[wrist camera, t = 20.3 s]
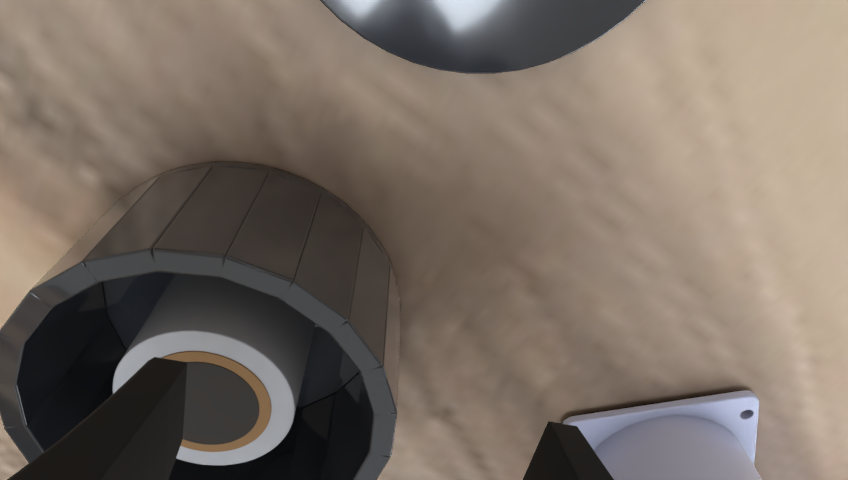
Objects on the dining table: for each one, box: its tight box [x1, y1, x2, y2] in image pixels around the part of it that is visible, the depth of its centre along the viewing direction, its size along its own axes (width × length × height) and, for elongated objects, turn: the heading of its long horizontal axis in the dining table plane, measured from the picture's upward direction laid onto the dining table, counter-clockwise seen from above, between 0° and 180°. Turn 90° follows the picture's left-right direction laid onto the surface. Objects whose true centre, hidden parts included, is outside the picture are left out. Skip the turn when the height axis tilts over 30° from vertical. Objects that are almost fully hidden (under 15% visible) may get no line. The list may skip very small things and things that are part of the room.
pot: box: [0, 162, 401, 480], centre depth 21 cm, size 11×11×6 cm
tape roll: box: [113, 273, 316, 465], centre depth 21 cm, size 5×5×5 cm
